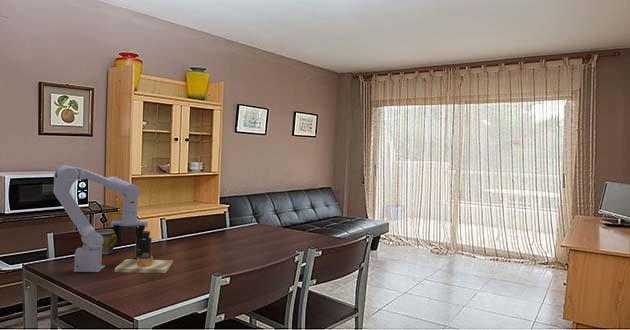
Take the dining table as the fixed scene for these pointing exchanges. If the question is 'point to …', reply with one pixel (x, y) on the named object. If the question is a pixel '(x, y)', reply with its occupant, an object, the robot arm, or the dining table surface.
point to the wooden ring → (144, 261)
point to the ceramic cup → (107, 240)
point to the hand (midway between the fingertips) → (128, 243)
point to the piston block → (132, 266)
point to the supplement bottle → (143, 244)
